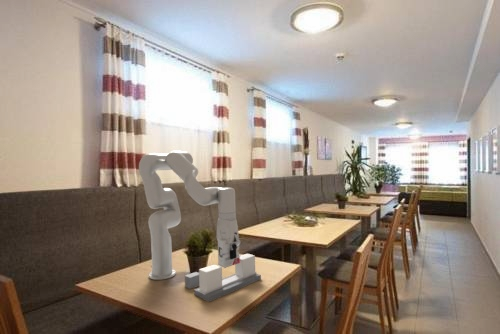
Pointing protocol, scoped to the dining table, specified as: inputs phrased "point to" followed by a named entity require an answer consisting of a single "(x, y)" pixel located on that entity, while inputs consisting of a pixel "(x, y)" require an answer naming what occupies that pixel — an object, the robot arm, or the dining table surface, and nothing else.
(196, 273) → the block
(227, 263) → the ink box
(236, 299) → the dining table surface
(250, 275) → the rail panel
